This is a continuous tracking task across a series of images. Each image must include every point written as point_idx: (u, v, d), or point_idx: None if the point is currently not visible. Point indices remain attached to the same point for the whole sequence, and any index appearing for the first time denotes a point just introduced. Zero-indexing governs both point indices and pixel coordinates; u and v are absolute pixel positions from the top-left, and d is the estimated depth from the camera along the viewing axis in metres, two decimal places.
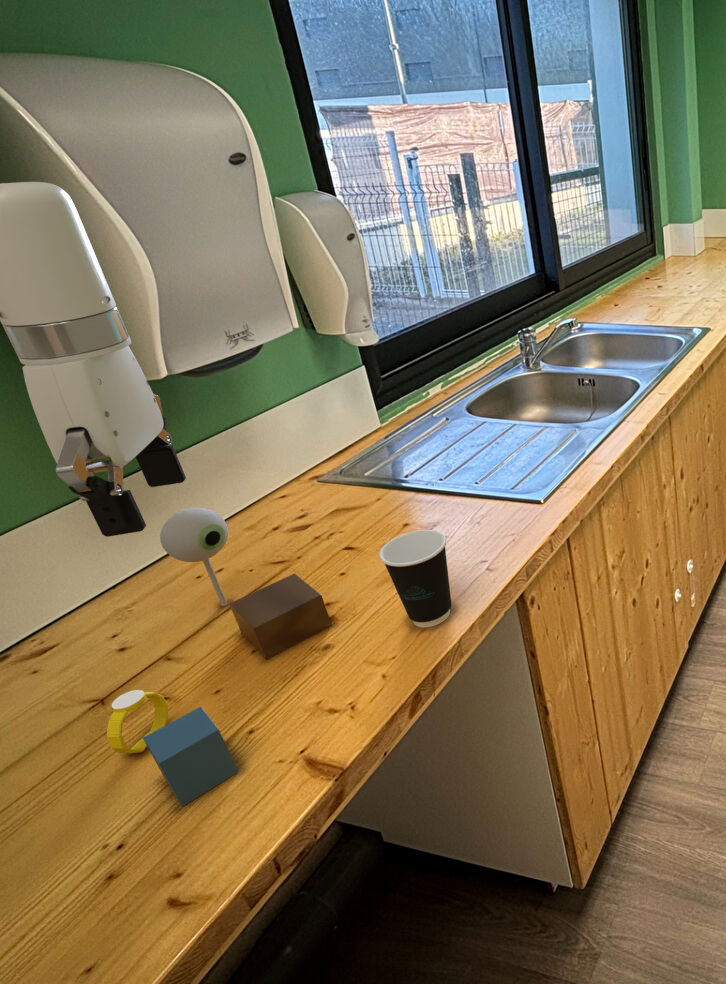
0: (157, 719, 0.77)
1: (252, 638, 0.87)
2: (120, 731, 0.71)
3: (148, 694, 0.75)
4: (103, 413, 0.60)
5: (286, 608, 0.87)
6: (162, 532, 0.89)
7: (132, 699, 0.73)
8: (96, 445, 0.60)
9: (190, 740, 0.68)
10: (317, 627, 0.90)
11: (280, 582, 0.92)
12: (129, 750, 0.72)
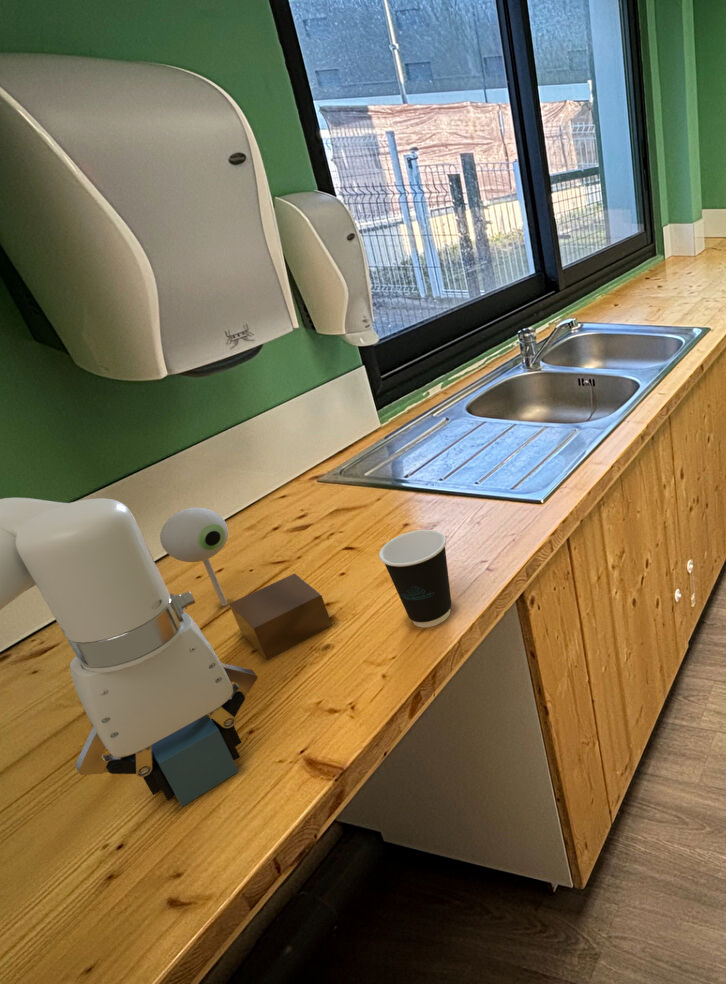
0: None
1: (252, 638, 0.87)
2: None
3: None
4: (102, 720, 0.61)
5: (286, 608, 0.87)
6: (162, 532, 0.89)
7: None
8: (100, 739, 0.62)
9: (190, 740, 0.68)
10: (317, 627, 0.90)
11: (280, 582, 0.92)
12: None
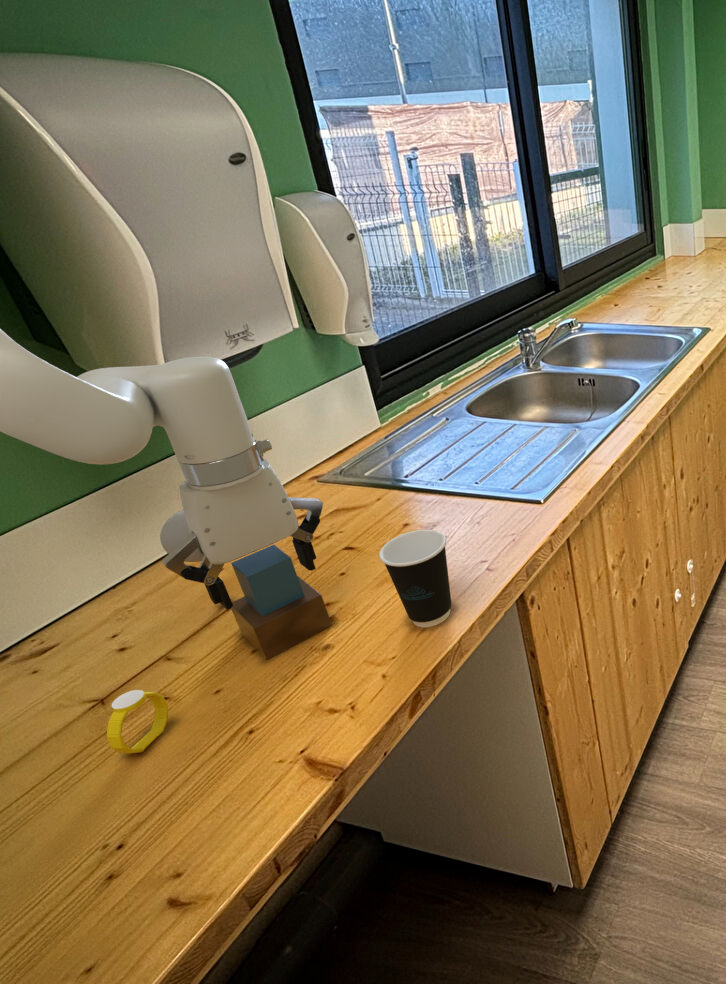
0: (157, 719, 0.77)
1: (252, 638, 0.87)
2: (120, 731, 0.71)
3: (148, 694, 0.75)
4: (204, 529, 0.79)
5: (286, 608, 0.87)
6: (162, 532, 0.89)
7: (132, 699, 0.73)
8: (201, 547, 0.80)
9: (269, 563, 0.86)
10: (317, 627, 0.90)
11: None
12: (129, 750, 0.72)
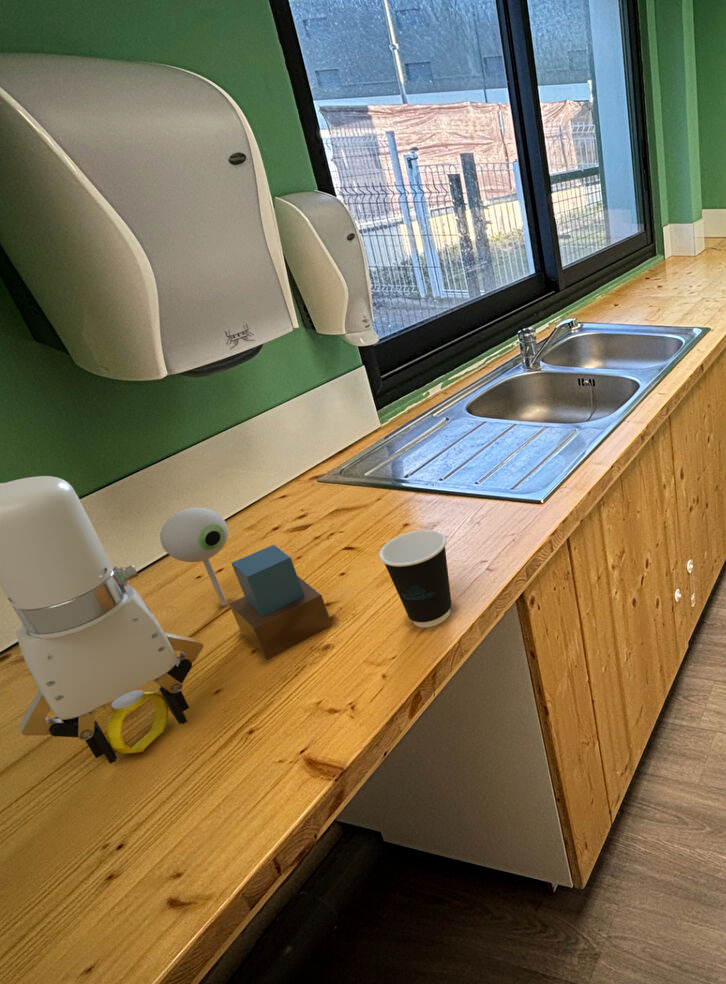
0: (157, 719, 0.77)
1: (252, 638, 0.87)
2: (120, 731, 0.71)
3: (148, 694, 0.75)
4: (47, 683, 0.66)
5: (286, 608, 0.87)
6: (162, 532, 0.89)
7: (132, 699, 0.73)
8: (46, 702, 0.67)
9: (269, 563, 0.86)
10: (317, 627, 0.90)
11: None
12: (129, 750, 0.72)
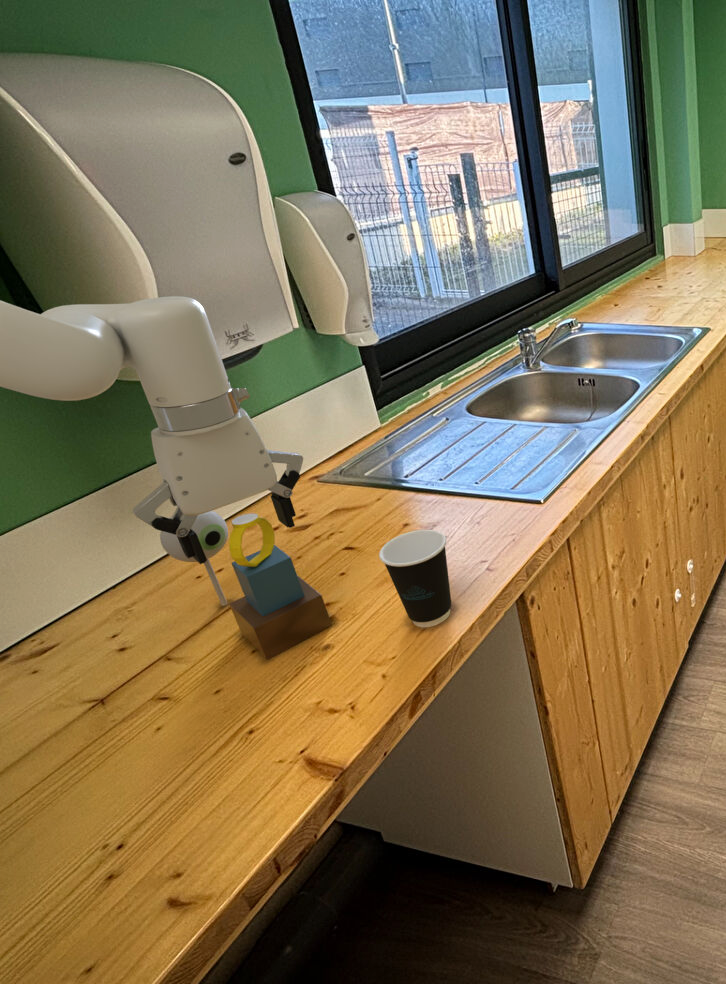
0: (265, 544, 0.88)
1: (252, 638, 0.87)
2: (240, 543, 0.82)
3: (260, 518, 0.86)
4: (176, 477, 0.76)
5: (286, 608, 0.87)
6: (162, 532, 0.89)
7: (248, 518, 0.84)
8: (173, 497, 0.77)
9: (269, 563, 0.86)
10: (317, 627, 0.90)
11: None
12: (247, 561, 0.83)
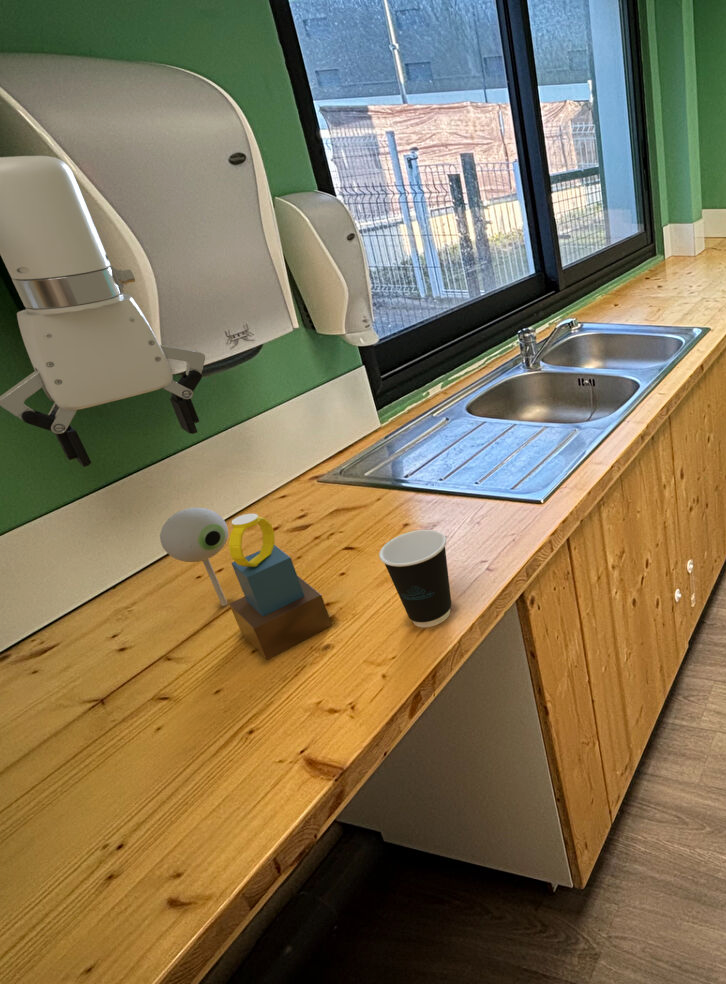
0: (265, 544, 0.88)
1: (252, 638, 0.87)
2: (240, 543, 0.82)
3: (260, 518, 0.86)
4: (46, 363, 0.68)
5: (286, 608, 0.87)
6: (162, 532, 0.89)
7: (248, 519, 0.84)
8: (45, 387, 0.69)
9: (269, 564, 0.86)
10: (317, 627, 0.90)
11: None
12: (247, 561, 0.83)
